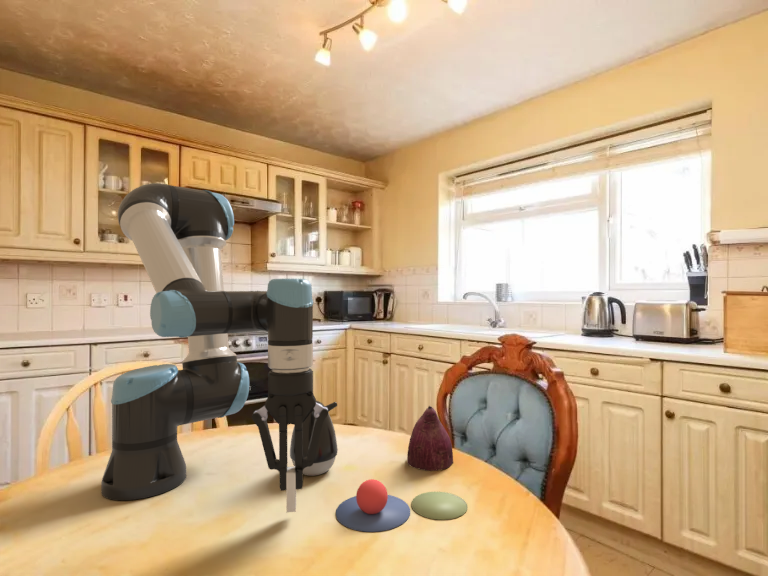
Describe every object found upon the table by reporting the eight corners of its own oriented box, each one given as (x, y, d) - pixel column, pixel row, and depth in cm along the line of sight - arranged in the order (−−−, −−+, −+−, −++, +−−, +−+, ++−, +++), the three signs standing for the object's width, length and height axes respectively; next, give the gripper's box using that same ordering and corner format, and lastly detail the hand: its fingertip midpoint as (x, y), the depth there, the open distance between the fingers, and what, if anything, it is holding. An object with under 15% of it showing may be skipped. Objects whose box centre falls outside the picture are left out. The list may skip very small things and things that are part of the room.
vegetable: (450, 486, 92) (457, 424, 88) (402, 476, 94) (408, 415, 91) (453, 456, 102) (460, 400, 98) (410, 448, 104) (416, 392, 101)
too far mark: (419, 522, 72) (419, 521, 72) (406, 495, 81) (406, 494, 81) (476, 516, 73) (476, 515, 73) (456, 490, 83) (456, 489, 83)
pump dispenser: (344, 475, 90) (343, 403, 91) (294, 484, 87) (294, 408, 87) (331, 459, 100) (331, 393, 100) (286, 465, 96) (286, 397, 96)
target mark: (338, 535, 68) (338, 534, 68) (333, 497, 81) (333, 496, 81) (418, 527, 70) (418, 526, 70) (401, 491, 83) (401, 490, 83)
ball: (364, 526, 72) (353, 496, 72) (360, 509, 77) (350, 481, 77) (394, 512, 73) (384, 482, 73) (388, 496, 78) (378, 469, 78)
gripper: (247, 374, 69) (248, 523, 68) (330, 371, 71) (331, 515, 70) (254, 366, 76) (254, 501, 76) (328, 364, 78) (329, 494, 78)
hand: (291, 508), depth 73 cm, fingers closed
